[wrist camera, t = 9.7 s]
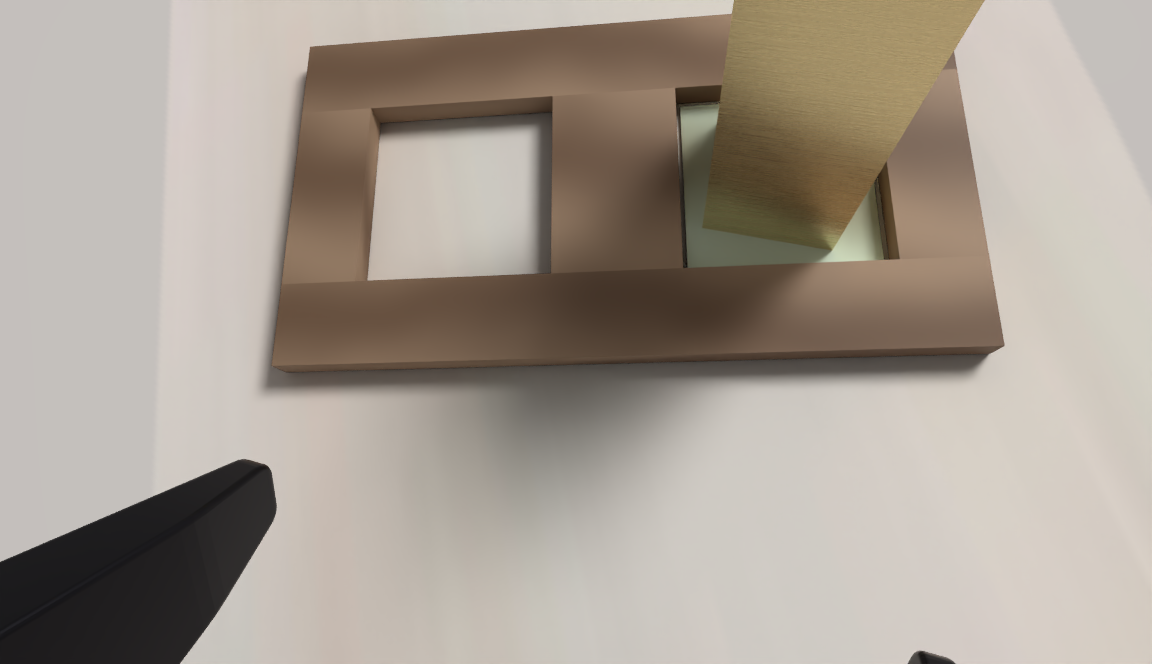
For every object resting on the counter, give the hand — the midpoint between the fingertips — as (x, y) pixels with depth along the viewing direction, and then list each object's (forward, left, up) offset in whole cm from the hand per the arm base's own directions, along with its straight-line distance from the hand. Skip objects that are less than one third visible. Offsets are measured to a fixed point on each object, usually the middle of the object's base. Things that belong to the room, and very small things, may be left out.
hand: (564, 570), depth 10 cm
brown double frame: (+13, 0, -14) cm, 19 cm away
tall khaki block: (+13, -6, -13) cm, 19 cm away
